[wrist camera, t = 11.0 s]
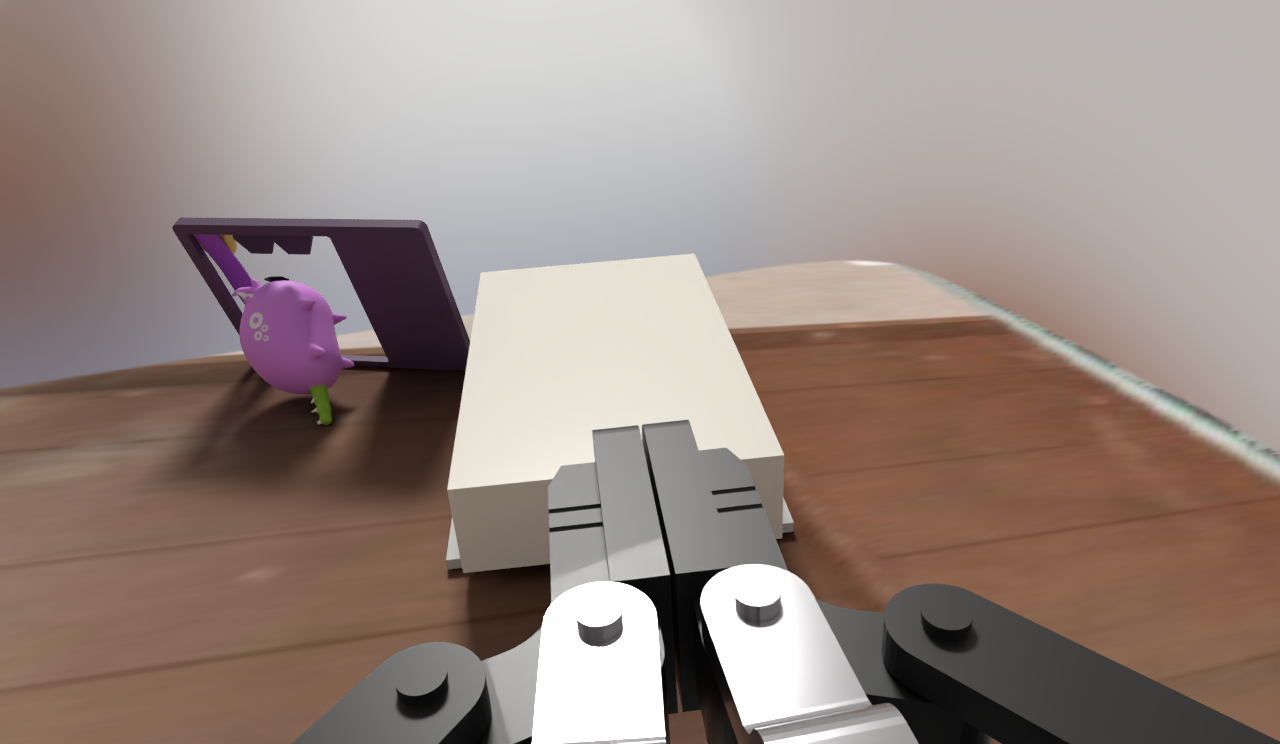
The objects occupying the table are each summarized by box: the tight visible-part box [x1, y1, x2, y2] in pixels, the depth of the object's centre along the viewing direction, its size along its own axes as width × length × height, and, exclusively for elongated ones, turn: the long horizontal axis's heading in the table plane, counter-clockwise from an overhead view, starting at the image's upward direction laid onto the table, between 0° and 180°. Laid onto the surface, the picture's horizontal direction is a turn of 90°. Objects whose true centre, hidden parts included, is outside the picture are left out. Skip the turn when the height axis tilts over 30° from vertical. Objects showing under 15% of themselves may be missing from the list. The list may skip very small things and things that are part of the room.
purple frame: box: [173, 218, 470, 425], centre depth 30 cm, size 7×5×9 cm
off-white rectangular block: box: [447, 254, 784, 573], centre depth 28 cm, size 8×3×14 cm
